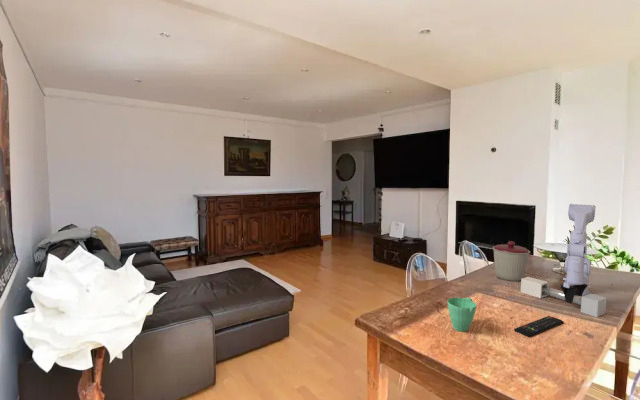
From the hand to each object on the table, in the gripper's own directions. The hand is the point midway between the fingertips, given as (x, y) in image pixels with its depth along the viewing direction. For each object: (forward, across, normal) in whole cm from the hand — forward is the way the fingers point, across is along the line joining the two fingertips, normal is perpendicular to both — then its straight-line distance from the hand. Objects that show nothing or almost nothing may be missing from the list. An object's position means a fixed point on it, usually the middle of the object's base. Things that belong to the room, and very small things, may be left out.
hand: (572, 300), depth 139 cm
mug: (+2, +60, -10) cm, 61 cm away
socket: (+2, 0, +7) cm, 8 cm away
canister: (+3, -13, -35) cm, 38 cm away
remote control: (+3, +34, +4) cm, 34 cm away
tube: (+1, 0, -4) cm, 4 cm away
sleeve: (+2, 0, -16) cm, 16 cm away
